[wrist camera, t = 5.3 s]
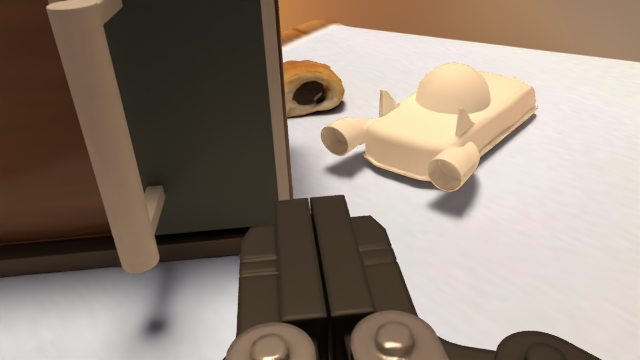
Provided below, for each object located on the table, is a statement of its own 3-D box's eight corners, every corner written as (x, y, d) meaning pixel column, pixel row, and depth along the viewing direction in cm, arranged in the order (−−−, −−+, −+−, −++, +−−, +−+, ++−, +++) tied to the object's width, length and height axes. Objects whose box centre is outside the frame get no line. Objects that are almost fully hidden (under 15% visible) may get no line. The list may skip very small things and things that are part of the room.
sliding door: (298, 293, 24) (275, -7, 17) (87, 314, 23) (-22, 10, 16) (290, 217, 29) (271, -34, 22) (119, 232, 28) (47, -22, 22)
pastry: (262, 85, 52) (258, 47, 50) (326, 78, 54) (326, 41, 52) (275, 121, 44) (272, 78, 42) (351, 112, 46) (351, 70, 44)
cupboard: (297, 249, 29) (273, -68, 21) (-40, 280, 28) (-203, -44, 20) (285, 144, 40) (267, -86, 32) (48, 163, 39) (-32, -72, 31)
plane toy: (561, 109, 44) (576, 41, 41) (456, 217, 31) (466, 128, 28) (449, 86, 50) (455, 25, 47) (320, 169, 37) (317, 91, 34)
